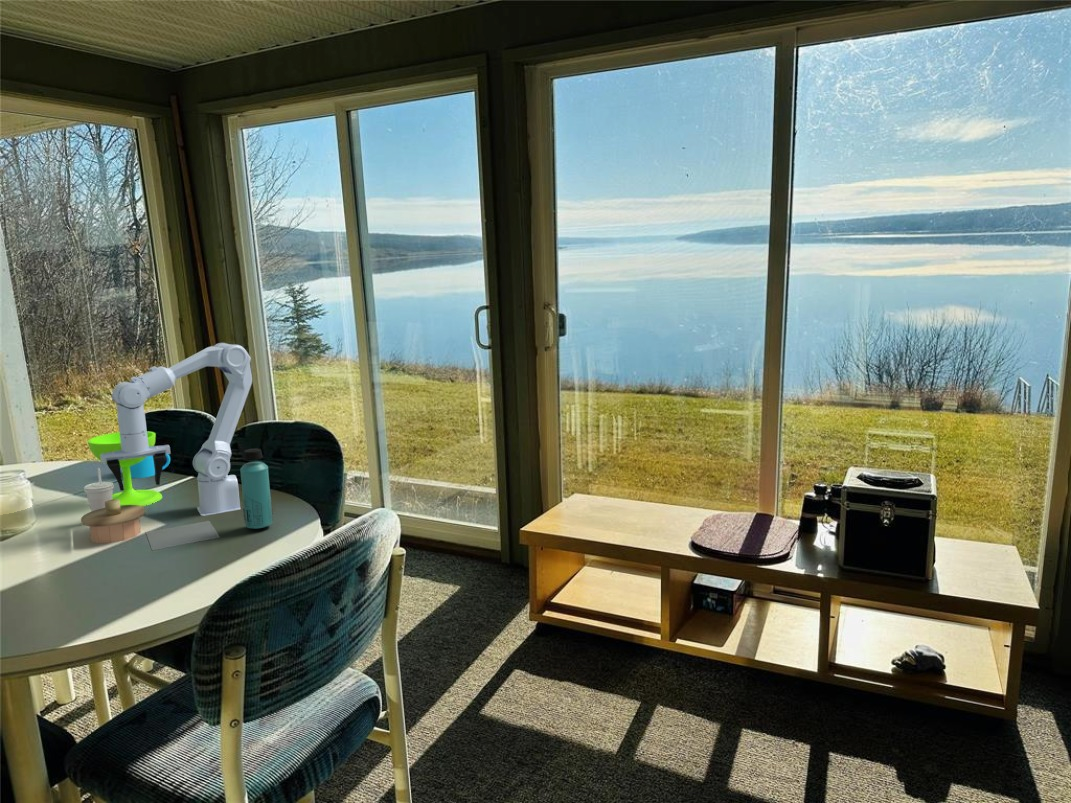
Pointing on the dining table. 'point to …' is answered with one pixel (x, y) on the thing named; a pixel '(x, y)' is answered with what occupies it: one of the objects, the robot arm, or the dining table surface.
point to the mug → (146, 467)
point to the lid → (113, 514)
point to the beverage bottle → (256, 491)
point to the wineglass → (125, 469)
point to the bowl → (115, 532)
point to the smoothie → (99, 493)
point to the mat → (181, 535)
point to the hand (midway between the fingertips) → (140, 486)
